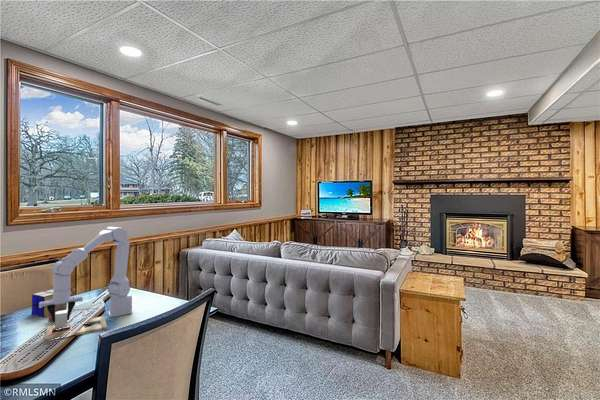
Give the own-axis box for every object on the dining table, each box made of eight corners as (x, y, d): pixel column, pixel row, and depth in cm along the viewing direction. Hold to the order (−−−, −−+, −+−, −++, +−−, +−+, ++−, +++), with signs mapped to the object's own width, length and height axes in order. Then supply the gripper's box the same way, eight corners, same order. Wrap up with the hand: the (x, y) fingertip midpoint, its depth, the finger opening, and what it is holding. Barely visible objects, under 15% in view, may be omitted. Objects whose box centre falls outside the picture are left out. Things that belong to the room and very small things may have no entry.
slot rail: (104, 317, 141) (104, 315, 141) (106, 328, 129) (106, 326, 129) (47, 328, 128) (47, 326, 128) (44, 342, 116) (44, 339, 116)
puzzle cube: (31, 314, 144) (31, 294, 145) (54, 307, 154) (55, 288, 154) (43, 317, 141) (43, 296, 141) (66, 310, 150) (66, 291, 150)
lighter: (52, 322, 135) (52, 301, 135) (46, 321, 136) (46, 300, 136) (68, 315, 143) (69, 295, 143) (63, 315, 144) (63, 295, 144)
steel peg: (67, 323, 128) (67, 309, 128) (67, 326, 125) (67, 312, 125) (55, 325, 126) (55, 311, 126) (54, 328, 122) (55, 314, 122)
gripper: (38, 294, 118) (37, 328, 118) (83, 288, 127) (82, 319, 127) (40, 290, 124) (39, 322, 123) (82, 284, 132) (82, 314, 132)
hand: (61, 320), depth 125 cm, fingers closed on steel peg, 4 cm apart
